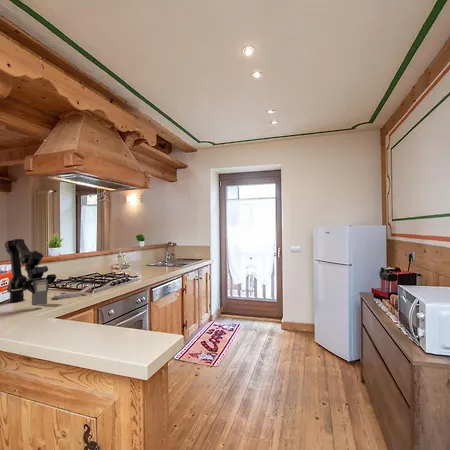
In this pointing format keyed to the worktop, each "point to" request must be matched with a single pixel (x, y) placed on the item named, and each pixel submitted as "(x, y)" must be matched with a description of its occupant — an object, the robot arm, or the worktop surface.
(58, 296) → the mobile phone
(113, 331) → the worktop surface
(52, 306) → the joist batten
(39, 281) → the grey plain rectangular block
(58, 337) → the worktop surface
